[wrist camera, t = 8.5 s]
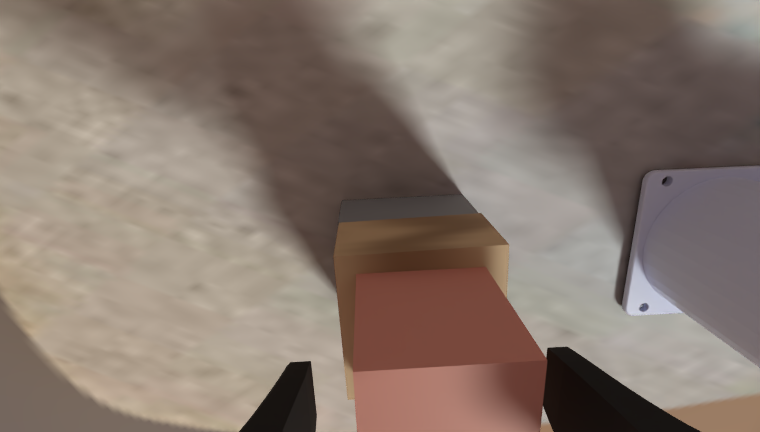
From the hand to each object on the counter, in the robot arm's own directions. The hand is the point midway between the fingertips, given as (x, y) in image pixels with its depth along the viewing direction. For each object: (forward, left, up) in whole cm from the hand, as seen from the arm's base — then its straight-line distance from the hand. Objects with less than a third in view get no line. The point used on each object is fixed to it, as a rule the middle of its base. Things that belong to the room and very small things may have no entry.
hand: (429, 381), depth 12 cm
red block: (0, 0, -3) cm, 3 cm away
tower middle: (0, 0, -6) cm, 6 cm away
